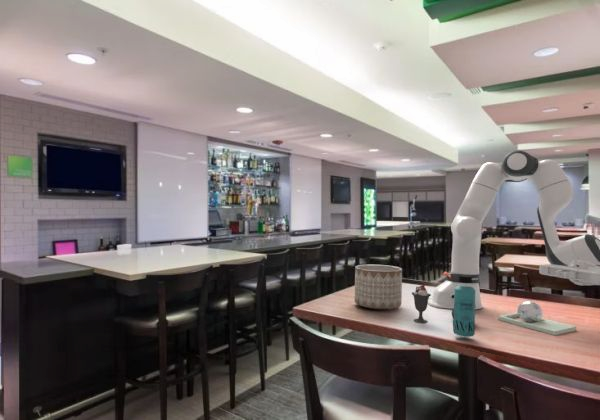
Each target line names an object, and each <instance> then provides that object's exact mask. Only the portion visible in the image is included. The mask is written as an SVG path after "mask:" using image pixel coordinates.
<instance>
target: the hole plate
mask: <svg viewBox="0 0 600 420" xmlns="http://www.w3.org/2000/svg"><path fill="white" fill-rule="evenodd" d="M515 318H520V317H519V316H518V313H517V312H514V313H508V314H503V315H498V316H497V319H498V321H502V322H506V323H510V324H513V325H516V326H520V327H524V328H527V329H531V330H534V331H538V332H542V333H544V334H547V335H552V336H558V335H563V334H566V333H572V332H575V331H577V326H575V325H571V324H567V323H563V322H559V321H556V320H551V319H546V318H543V317H542V319H541V320H540V321H539V322H535V323H526V322H524V321H523V320H519V319H515Z"/></svg>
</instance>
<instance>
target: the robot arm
mask: <svg viewBox="0 0 600 420" xmlns="http://www.w3.org/2000/svg"><path fill="white" fill-rule="evenodd" d="M526 180H529V181H531V182H532V183H533V185H534V186H535V189H536V191H537V193H538V195H539V206H538V207H537V208H536V213H537V214H536V215H537V219H538V223H539V226H540V227H539V228H540V231H541V236H542V238H543V242H544V246H545V255H546V258H547V259H546V260H547V261H548V264H547V263H544V264H543V263H542V264H539V268H538V269H539V271H538V272H539V274H540V275H544V276H549V277H556V278H561V279H568V280H569V281H570V282H571V283H573V284H575V285H578V286H600V239H599V238H598V237H596V236H594V235H591V234H588V233H587V234H583V235H579V236H576V237H573V238H570V239H568V240H564V241H560V238H559V235H558V229H557V228H556V224H555V221H556V218H557V216H558V215H560V213H561V212H562V211H563V210H564V209H565V208H566V207H568V206H569V205H570V203H571V202H572V200H573V199H574V195H575V192H574V188H573V186H572V183H571V182H570V179H569V177H568V176H567V174H566V173H565V171H564V170H563V168H562V166H561V165H560V164H559V163H558V162H557V161H555V160H554V159H544V160H540V161H539V159H538V158H536V157H535V156H533V155H532V154H530V153H528V152H526V151H524V150H520V149H517V150H512V151H509V152H508V153H507V154H506V155H505V156H504V157H503V159H502V161H501V162H500V163H496V162H493V161H491V162H489V161H488V162H484V163H483V164H482V165H481V167H480V168H479V169H478V170H477V173H476V174H475V176H474V178H473V179H472V180H471V181H472V182H471V184H470V185H469V187H468V191H467V192H466V194H465V197H464V199H463V201H462V203H461V205H460V206H459V208H458V210H457V213H456V215H455V216H454V219H453V221H452V223H451V224H450V225H451V226H450V229H451V230H450V231H451V233H452V245H451V246H452V248H451V270H450V271H449V272H447V271H444V272H443V276H444V277H446V280H445V281H444V282H442V283H441V284H438V285H437V286H436V287H434V289H433V291H432V295H431V296H432V297H429V299H428V304H427V305H429V306H431V307H434V308H437V309H438V308H439V309H451V310H453V308H454V307H453V306H454V288H455V287H457V286H458V285H466V286H471V287H473V288H474V289H475V291H476V292H475V305H476V306H475V311H476V310H479V309H482V308H483V303H482V297H481V293H480V292H481V291H480V287H481V274H480V253H481V252H480V251H481V245H482V244H481V243H482V233H483V230H482V229H483V228H482V224H483V222H484V220H485V218H486V216H487V215H488V214H489V211H490V210H491V207H492V206H493V204H494V201H495V200H496V197H497V195H498V193H499V190H500V189H501V187H502V185H503V183H504V182H505V183H506V182H507V183H508V182H509V183H511V182H512V183H521V182H525V181H526ZM459 275H468V276H472V283H461V282H458V278H459Z"/></svg>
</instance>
